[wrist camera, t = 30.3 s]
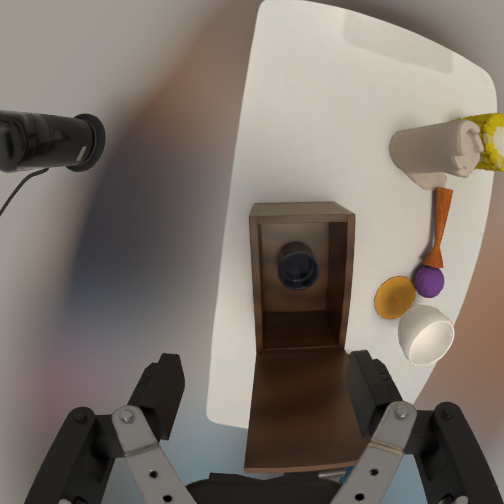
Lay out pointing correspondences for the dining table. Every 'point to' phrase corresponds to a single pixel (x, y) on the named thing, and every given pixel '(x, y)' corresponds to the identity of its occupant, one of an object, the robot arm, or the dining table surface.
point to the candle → (437, 152)
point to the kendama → (435, 250)
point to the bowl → (297, 267)
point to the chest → (313, 298)
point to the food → (490, 140)
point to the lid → (302, 416)
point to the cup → (414, 322)
